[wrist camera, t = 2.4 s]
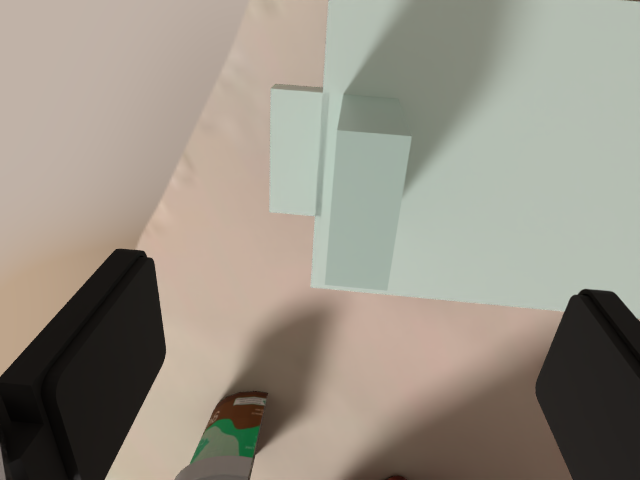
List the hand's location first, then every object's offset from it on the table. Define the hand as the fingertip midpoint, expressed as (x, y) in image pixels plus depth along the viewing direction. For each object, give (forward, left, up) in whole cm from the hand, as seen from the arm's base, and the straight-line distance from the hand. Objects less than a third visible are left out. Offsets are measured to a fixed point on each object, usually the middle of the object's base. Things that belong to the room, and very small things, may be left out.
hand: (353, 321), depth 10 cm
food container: (+9, +31, -23) cm, 40 cm away
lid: (-7, 0, -14) cm, 16 cm away
